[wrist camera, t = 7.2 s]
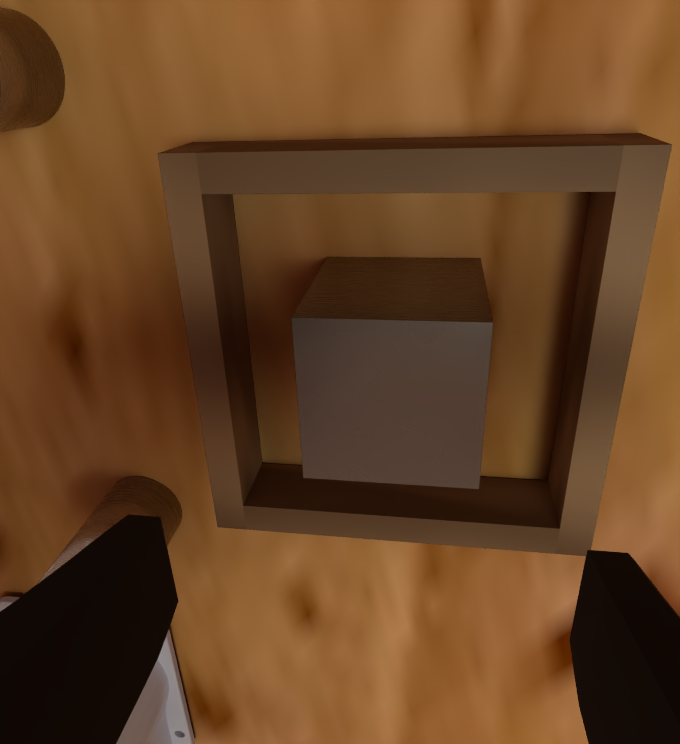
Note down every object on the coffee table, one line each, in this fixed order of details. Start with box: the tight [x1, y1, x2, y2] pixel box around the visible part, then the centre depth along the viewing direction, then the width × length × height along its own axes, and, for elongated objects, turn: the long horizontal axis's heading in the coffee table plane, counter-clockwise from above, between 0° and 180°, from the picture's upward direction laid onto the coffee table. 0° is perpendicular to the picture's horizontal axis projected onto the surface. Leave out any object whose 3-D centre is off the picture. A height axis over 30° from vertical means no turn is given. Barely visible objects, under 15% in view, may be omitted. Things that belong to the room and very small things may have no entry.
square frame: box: [158, 133, 672, 556], centre depth 18 cm, size 12×12×2 cm
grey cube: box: [291, 257, 493, 489], centre depth 17 cm, size 4×4×5 cm
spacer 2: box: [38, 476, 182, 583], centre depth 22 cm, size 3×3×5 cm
